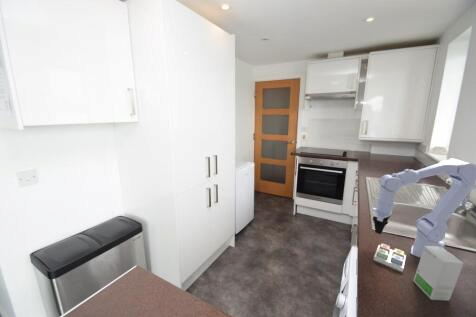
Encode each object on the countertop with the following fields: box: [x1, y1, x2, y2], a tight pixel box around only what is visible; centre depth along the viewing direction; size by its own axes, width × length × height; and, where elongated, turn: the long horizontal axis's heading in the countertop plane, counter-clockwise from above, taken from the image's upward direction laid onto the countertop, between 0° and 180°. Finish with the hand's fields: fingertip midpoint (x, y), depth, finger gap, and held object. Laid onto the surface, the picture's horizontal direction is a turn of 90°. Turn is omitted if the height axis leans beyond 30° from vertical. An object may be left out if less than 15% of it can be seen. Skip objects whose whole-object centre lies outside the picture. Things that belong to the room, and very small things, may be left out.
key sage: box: [377, 248, 388, 260], centre depth 89 cm, size 3×3×2 cm
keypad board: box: [372, 244, 407, 274], centre depth 90 cm, size 10×11×2 cm
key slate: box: [392, 254, 403, 266], centre depth 86 cm, size 3×3×2 cm
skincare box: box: [412, 246, 465, 302], centre depth 73 cm, size 8×7×16 cm
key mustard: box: [393, 248, 405, 257], centre depth 90 cm, size 3×3×2 cm
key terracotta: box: [380, 242, 391, 252], centre depth 93 cm, size 3×3×2 cm
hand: (379, 229), depth 96 cm, fingers open, 7 cm apart
